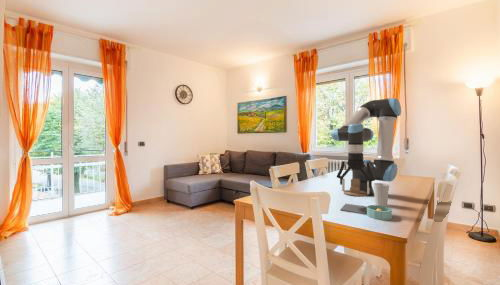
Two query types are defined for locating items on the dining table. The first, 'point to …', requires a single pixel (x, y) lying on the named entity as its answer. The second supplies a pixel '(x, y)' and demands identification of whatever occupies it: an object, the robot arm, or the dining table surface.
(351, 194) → the lid
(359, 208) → the mat
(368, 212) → the bowl
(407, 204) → the dining table surface
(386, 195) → the cup
